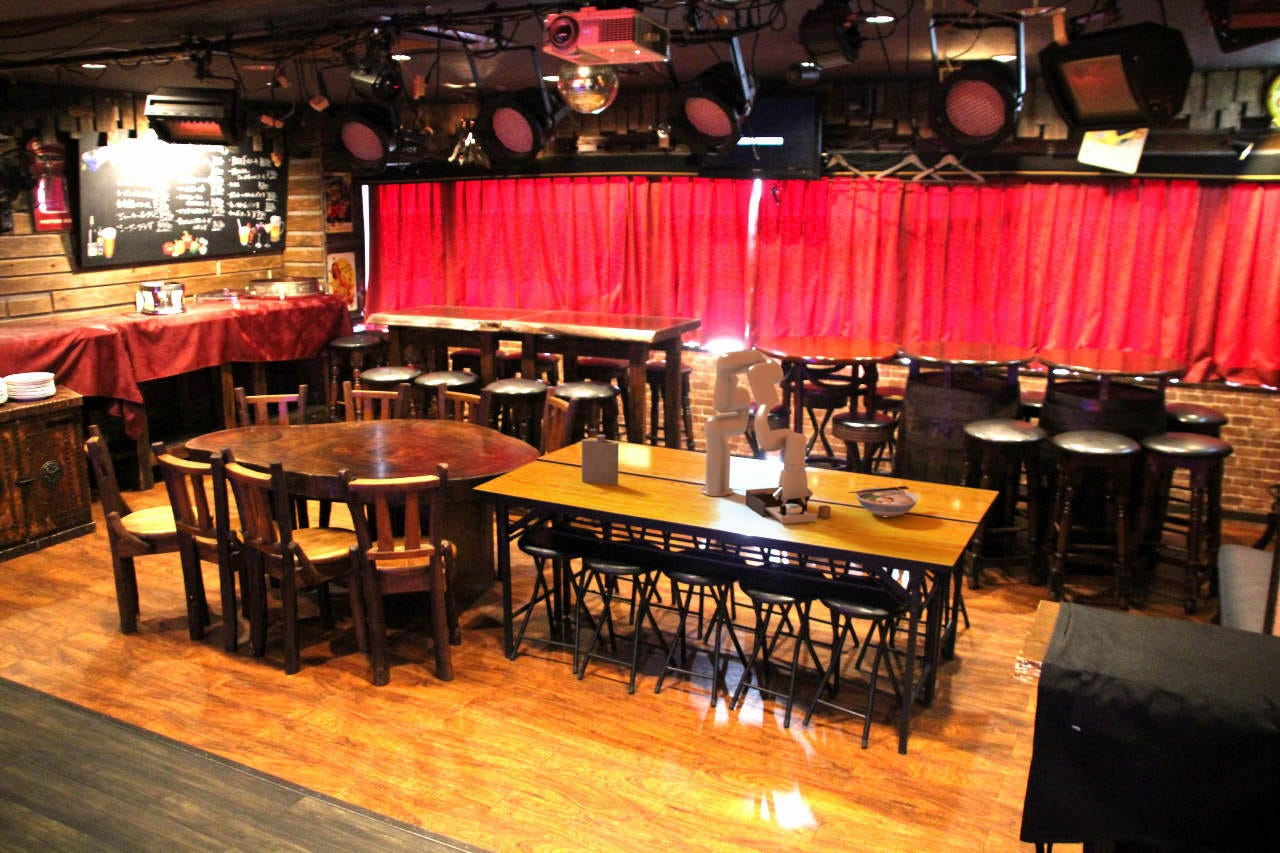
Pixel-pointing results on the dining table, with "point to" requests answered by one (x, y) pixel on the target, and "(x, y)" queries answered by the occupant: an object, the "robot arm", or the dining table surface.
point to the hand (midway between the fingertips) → (792, 514)
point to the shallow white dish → (793, 508)
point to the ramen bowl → (886, 500)
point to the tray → (791, 516)
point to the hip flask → (600, 461)
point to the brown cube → (824, 512)
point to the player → (765, 500)
